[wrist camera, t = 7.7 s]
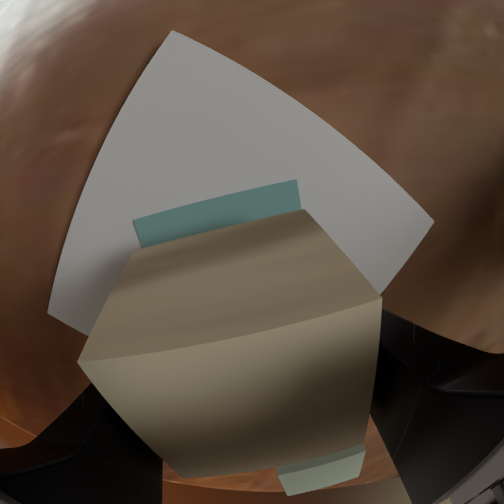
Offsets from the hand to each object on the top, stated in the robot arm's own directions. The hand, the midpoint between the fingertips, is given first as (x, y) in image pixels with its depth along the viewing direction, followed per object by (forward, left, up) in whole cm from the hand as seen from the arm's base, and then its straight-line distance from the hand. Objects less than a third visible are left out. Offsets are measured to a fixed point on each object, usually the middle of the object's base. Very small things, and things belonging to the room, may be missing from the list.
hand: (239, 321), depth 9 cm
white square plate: (0, 0, -4) cm, 4 cm away
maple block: (0, 0, -1) cm, 1 cm away
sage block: (+9, +12, -4) cm, 16 cm away
